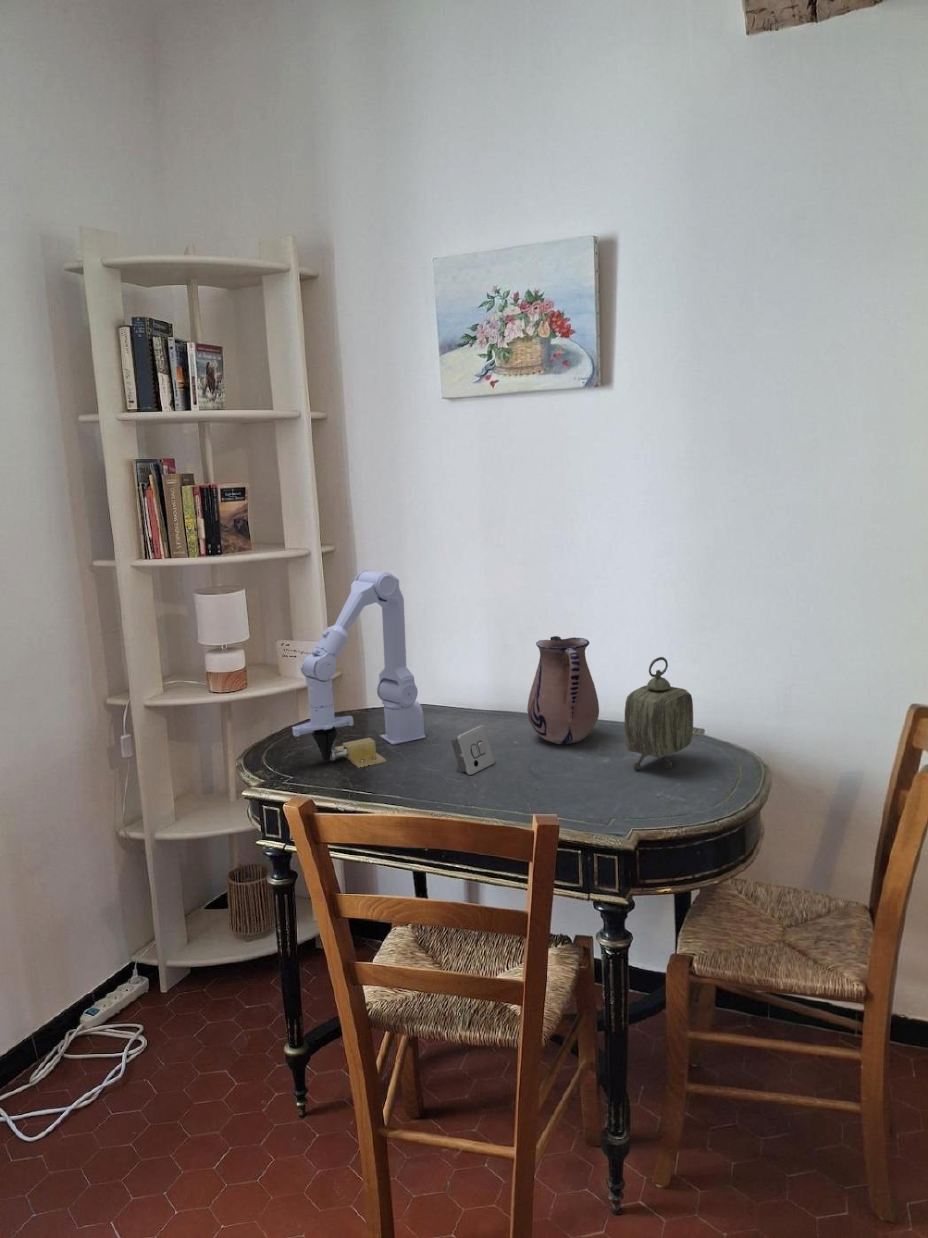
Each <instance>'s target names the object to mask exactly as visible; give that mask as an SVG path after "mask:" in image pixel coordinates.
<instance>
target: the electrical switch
mask: <svg viewBox="0 0 928 1238" xmlns="http://www.w3.org/2000/svg"><path fill="white" fill-rule="evenodd" d="M450 741H451V745H452V749H453V751H454V755H455V760H456V762H457V766H458V769H459V772H460V773H467V774H468V776H470V775H474V774H476V773H478V772H479V771H482V770H484V769H486V768H488V767H491V765H494V764H495V757H494V754H493V750H492V746H491V743H490V739H489V736H488V733H487V730H486V726H484V725H479V726H476V727H474V728H472V729H470V730H467V731H466V732H464V733H463V732H462V733H461V734H458V735H457V737H454V738H452V739H451V740H450Z"/></svg>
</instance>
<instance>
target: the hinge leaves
mask: <svg viewBox="0 0 928 1238" xmlns="http://www.w3.org/2000/svg"><path fill="white" fill-rule="evenodd" d="M376 748H377V747H376V741H375V740H374V739H373V738H371V737H366V738H365V737H364V738H361V739H356V740H351V741H347V742H342V745H340V746H339V745H338V746H335V747H334V750H335V749H336V750H337V751H338V750H343V749H347V751H348V755H346V756H343V757H344V758H345V757H346V758H347V760H348V761H349V760H350V761H351V762H350V761H349V762H350V763H351V764H353V765H354V766H355V765H356V767H357V768H358V769H360V767H361V768H364V766H365V767H369V766H368V765H370V766H374V765H379V764H382V763H387V760H386V758H384V757H383V756H382V755H380V754H379V753H377V749H376ZM336 750H335V751H336ZM346 758H345V759H346Z"/></svg>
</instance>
